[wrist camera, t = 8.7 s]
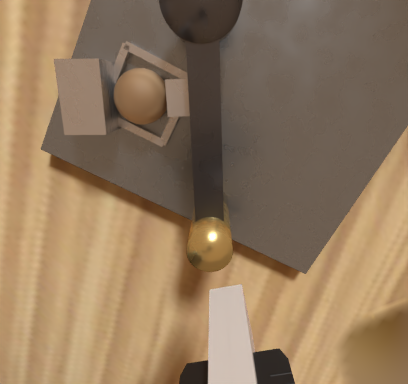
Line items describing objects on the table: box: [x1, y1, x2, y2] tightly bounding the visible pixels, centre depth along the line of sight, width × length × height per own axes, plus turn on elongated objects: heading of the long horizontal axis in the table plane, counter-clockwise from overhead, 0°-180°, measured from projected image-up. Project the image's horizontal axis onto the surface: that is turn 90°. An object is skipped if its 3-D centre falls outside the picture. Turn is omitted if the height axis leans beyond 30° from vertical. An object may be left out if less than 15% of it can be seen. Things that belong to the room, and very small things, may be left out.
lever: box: [159, 0, 243, 272], centre depth 22 cm, size 5×19×7 cm, turn 2°
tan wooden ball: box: [114, 68, 167, 124], centre depth 24 cm, size 4×4×4 cm
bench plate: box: [41, 0, 408, 274], centre depth 25 cm, size 24×26×6 cm
